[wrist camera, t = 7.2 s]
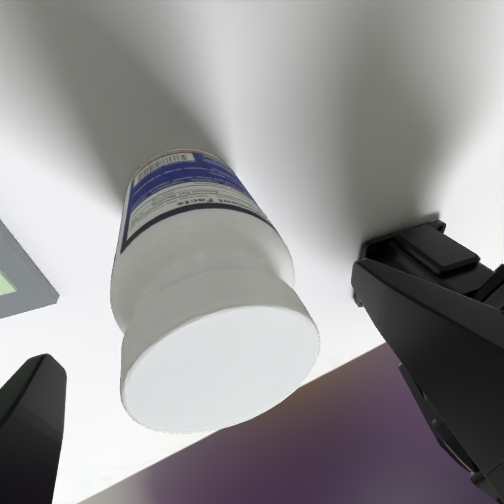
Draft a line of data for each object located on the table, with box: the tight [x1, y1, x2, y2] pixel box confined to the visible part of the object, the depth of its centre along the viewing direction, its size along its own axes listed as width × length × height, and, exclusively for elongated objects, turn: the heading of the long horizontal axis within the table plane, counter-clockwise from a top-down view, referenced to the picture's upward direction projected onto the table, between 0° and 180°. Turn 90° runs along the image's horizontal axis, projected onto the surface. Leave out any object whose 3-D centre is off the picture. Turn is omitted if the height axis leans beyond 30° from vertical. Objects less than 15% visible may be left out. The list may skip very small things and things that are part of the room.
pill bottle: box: [110, 148, 320, 434], centre depth 10 cm, size 6×6×10 cm
